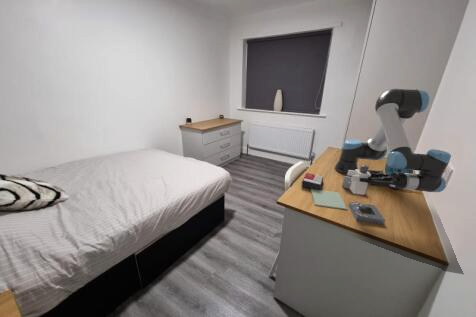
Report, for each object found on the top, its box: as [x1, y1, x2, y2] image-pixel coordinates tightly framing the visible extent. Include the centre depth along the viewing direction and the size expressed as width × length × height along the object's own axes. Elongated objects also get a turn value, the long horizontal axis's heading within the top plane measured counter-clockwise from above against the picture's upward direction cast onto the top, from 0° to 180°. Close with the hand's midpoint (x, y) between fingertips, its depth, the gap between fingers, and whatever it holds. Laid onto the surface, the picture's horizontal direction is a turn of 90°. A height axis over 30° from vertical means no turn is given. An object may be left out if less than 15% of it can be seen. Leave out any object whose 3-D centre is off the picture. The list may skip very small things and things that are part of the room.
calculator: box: [301, 172, 324, 190], centre depth 126 cm, size 11×4×15 cm
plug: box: [349, 164, 371, 196], centre depth 96 cm, size 5×5×14 cm
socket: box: [348, 201, 386, 225], centre depth 99 cm, size 12×12×2 cm
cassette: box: [341, 175, 352, 190], centre depth 121 cm, size 12×2×8 cm, turn 66°
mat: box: [310, 188, 348, 210], centre depth 111 cm, size 16×16×1 cm
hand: (349, 175), depth 96 cm, fingers closed on plug, 5 cm apart
